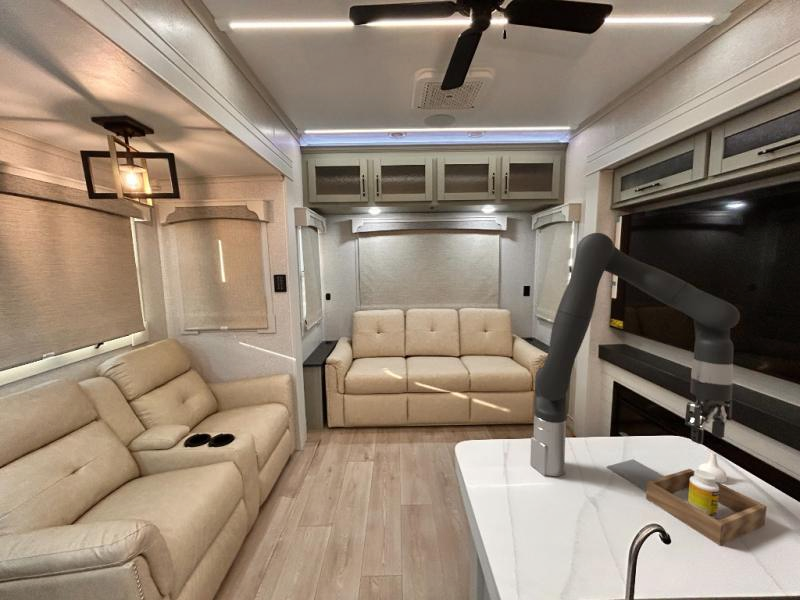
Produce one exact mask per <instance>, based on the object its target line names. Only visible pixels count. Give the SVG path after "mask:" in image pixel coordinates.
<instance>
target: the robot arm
mask: <svg viewBox="0 0 800 600" xmlns="http://www.w3.org/2000/svg"><path fill="white" fill-rule="evenodd" d="M572 268H573V269H572V273H571V276H570V279H569V281H568V283H567V286H566V288H565V290H564V292H563V295H562V297H561V300H560V302H559V305H558V308H557V311H556V314H555V317H554V320H553V324H552V326H551V327H552V328H551V333H550V340H549V347H548V352H547V355H546V359H545V361H544V363H543V365H542V366H541V367H539V368H538V369H537V371H536V373H535V378H534V402H533V403H534V415H533V419H534V420H533V436H532V437H531V438H530V457H529V459H530V461H529V464H530V466H531V467H533V469H534V470H536V471H537V472H539V473H540V474H541V475H543V476H544V477H546V476H548V477H549V476H550V477H559V476H562V475H563V474H565V461H566V460H565V458H566V433H567V432H566V430H567V392H568V391H569V387H570V381H571V377H572V376H571V375H572V371H573V369H574V368H573V367H574V363H575V360H576V359H577V355H578V354H579V351H580V348H581V347H582V344H583V341H584V339H585V336H586V334H587V333H588V332H587V331H588V329H589V326H590V323H591V320H592V318H593V312H594V309H595V306H596V305H595V304H596V300H597V296H598V289H599V284H600V282H601V279H602V276H603V274H604V272H605V273H606V272H607V273H609V274H612V275H614V276H616V277H618V278H620V279H621V280H623V281H625V282H628V284H631V286H633V287H636V288H638V289H639V290H640V291H642V292H643V293H645V294H647V295H649V296H650V297H652V298H654V299H655V300H658V301H659V302H661V303H663V304H665V305H667V306H668V307H671V308H672V309H673V308H674V309H675V310H678V311H680V312H681V313H684V314H685V315H687V316H689V317H690V318H692V319H693V325H694V326H693V327H694V336H695V341H694V348H693V349H694V351H693V361H692V366H691V376H690V393H691V394H692V395H694V396H695V397H696V398H695V399H696V400H695V402H694V403H693V402H690V401H688V402H687V403H686V408H685V418H684V425H685V426H688V427H690V428H691V432H690V440H691V441H692V442H694V443H695V444H698V445H702V444H704V433H705V432H704V429H705V427H706V425H707V424H710V423H712V424H711V434H712V436H714V437H717V438H719V439H724V437H725V430H726V429H725V428H726V425H727V423H728V421H729V422H730V421H732V420H733V419H732V417H733V397H732V396H733V386H734V365H733V363H734V343H733V342H732V340H731V329H732V328H734V327H736V325H738V323H739V321H740V319H741V317H740V316H741V314H740V312H739V309H738V308H737V307H736V306H734V305H733V304H732V303H729V302H728V301H726V300H724V299H722V298H719V297H717V296H715V295H713V294H710V293H708V292H705V291H704V290H701V289H698V288H697V287H695V286H694V285H692V284H690V283H688V282H686V281H684V280H683V279H681V278H679V277H677V276H675V275H673V274H671V273H670V272H669V273H668V272H667V271H664V270H661V269H659V268H657V267H654V266H651V265H649V264H647V263H644V262H641V261H640V260H638V259H635V258H633V257H631V256H629V255H628V254H626V253H624V252H623V251H622V250H620V249H619V248H618V247H616V245H615V244H614V241H613V239H612V238H610V236H609V235H607V234H604V233H602V232H593V233H589V234H588V235H586V236H583V238H582V239H581V240H580V241H579V242H578V244H577V247H576V251H575V257H574V263H573V267H572ZM711 421H712V422H711Z"/></svg>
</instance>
